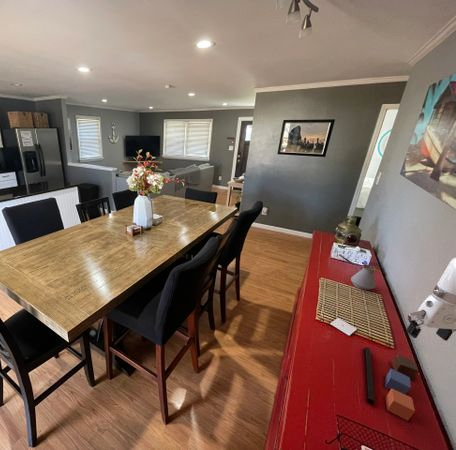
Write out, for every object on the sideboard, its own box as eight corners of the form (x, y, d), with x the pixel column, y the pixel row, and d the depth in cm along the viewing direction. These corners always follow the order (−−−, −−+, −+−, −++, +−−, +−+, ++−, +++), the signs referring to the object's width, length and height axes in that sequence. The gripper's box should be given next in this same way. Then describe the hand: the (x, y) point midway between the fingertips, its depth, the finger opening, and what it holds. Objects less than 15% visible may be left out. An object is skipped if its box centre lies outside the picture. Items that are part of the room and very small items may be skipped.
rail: (368, 352, 99) (370, 348, 98) (372, 405, 80) (374, 401, 79) (363, 350, 100) (365, 346, 99) (366, 402, 80) (369, 398, 80)
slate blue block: (403, 387, 86) (410, 377, 84) (404, 397, 82) (410, 387, 80) (385, 377, 89) (390, 368, 87) (385, 387, 85) (390, 377, 84)
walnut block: (407, 369, 92) (413, 360, 90) (412, 380, 88) (418, 370, 86) (391, 363, 94) (396, 354, 93) (395, 373, 90) (400, 364, 88)
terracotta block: (405, 407, 79) (412, 397, 77) (408, 421, 76) (415, 411, 74) (385, 397, 82) (391, 388, 80) (387, 410, 78) (393, 400, 76)
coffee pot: (375, 286, 141) (385, 265, 135) (372, 295, 134) (382, 272, 128) (333, 271, 155) (340, 250, 150) (328, 277, 148) (335, 256, 142)
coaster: (357, 328, 110) (357, 327, 110) (349, 335, 106) (349, 334, 106) (338, 317, 117) (338, 316, 116) (329, 323, 113) (330, 322, 112)
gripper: (434, 301, 71) (409, 343, 78) (496, 305, 70) (465, 347, 77) (411, 285, 78) (390, 325, 85) (467, 289, 77) (441, 329, 84)
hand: (425, 335), depth 81 cm, fingers open, 9 cm apart
